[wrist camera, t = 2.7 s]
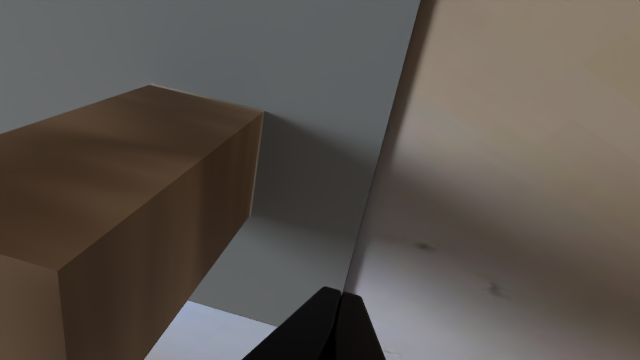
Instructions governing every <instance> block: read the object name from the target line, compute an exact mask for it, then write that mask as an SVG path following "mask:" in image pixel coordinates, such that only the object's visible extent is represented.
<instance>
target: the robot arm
mask: <svg viewBox="0 0 640 360" xmlns="http://www.w3.org/2000/svg"><path fill="white" fill-rule="evenodd" d="M242 360H386V359H385V356H384V354H383V351H382V349H381V346H380V343H379V341H378V338H377V336H376V333H375V331H374V328H373V325H372V323H371V320H370V318H369V315H368V313H367V310H366V307H365V305H364V302H363V300H362V298H361V297H360V296H359V295H355V294H352V293H348V292H343V293H342V295H341V291H340V290H338V289H334V288H331V287H327V286H324V287H322V288H321V289H320V290H318V291H317V292H316V293H315V294H314V295H313V296H312V297H311V298H310V299H308V300H307V301H306V302H305V303H304V304H303V305H302V306H301V307H300V308H298V309H297V310H296V311H295V312H294V313H293V314H292V315H291V316H290V317H289V318H287V319H286V320H285V321H284V322H283V323H282V324H281V325H280V326H279V327H277V328H276V329H275V330H274V331H273V332H272V333H271V334H270V335H269V336H267V337H266V338H265V339H264V340H263V341H262V342H261V343H260V344H259V345H258V346H256V347H255V348H254V349H253V350H252V351H251V352H250V353H249V354H248V355H246V356H245V357H244V358H243V359H242Z"/></svg>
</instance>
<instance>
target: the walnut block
mask: <svg viewBox="0 0 640 360" xmlns="http://www.w3.org/2000/svg"><path fill="white" fill-rule="evenodd" d="M264 112H265V111H264V110H259V109H255V108H251V107H247V106H243V105H239V104H235V103H231V102H226V101H222V100H218V99H214V98H210V97H206V96H202V95H197V94H193V93H189V92H185V91H181V90H177V89H173V88H169V87H164V86H160V85H156V84H150V85H147V86H144V87H141V88H138V89H135V90H132V91H129V92H126V93H123V94H120V95H117V96H114V97H111V98H108V99H105V100H102V101H99V102H96V103H93V104H90V105H87V106H84V107H81V108H78V109H74V110H71V111H68V112H65V113H62V114H59V115H56V116H53V117H50V118H47V119H44V120H41V121H38V122H35V123H32V124H29V125H26V126H23V127H20V128H17V129H14V130H11V131H8V132H5V133H2V134H0V360H144V359H145V357H146V356H147V355H148V353H149V352H150V350H151V349H152V348H153V346H154V345H155V344H156V342H157V341H158V340H159V338H160V337H161V336H162V334H163V333H164V331H165V330H166V329H167V327H168V326H169V325H170V323H171V322H172V321H173V319H174V318H175V317H176V315H177V314H178V312H179V311H180V310H181V308H182V307H183V306H184V304H185V303H186V302H187V300H188V299H189V298H190V296H191V295H192V293H193V292H194V291H195V289H196V288H197V287H198V285H199V284H200V283H201V281H202V280H203V278H204V277H205V276H206V274H207V273H208V272H209V270H210V269H211V268H212V266H213V265H214V264H215V262H216V261H217V259H218V258H219V257H220V255H221V254H222V253H223V251H224V250H225V249H226V247H227V246H228V245H229V243H230V242H231V240H232V239H233V238H234V236H235V235H236V234H237V232H238V231H239V230H240V228H241V227H242V226H243V224H244V223H245V221H246V220H247V219H248V217H249V216H250V215H251V210H252V202H253V195H254V187H255V180H256V172H257V165H258V157H259V150H260V142H261V134H262V127H263V119H264Z"/></svg>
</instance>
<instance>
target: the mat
mask: <svg viewBox="0 0 640 360" xmlns="http://www.w3.org/2000/svg"><path fill="white" fill-rule="evenodd" d="M419 4H420V0H0V134H2V133H5V132H8V131H11V130H14V129H17V128H20V127H23V126H26V125H29V124H32V123H35V122H38V121H41V120H44V119H47V118H50V117H53V116H56V115H59V114H62V113H65V112H68V111H71V110H74V109H78V108H81V107H84V106H87V105H90V104H93V103H96V102H99V101H102V100H105V99H108V98H111V97H114V96H117V95H120V94H123V93H126V92H129V91H132V90H135V89H138V88H141V87H144V86H147V85H150V84H156V85H160V86H164V87H169V88H173V89H177V90H181V91H185V92H189V93H193V94H197V95H202V96H206V97H210V98H214V99H218V100H222V101H226V102H231V103H235V104H239V105H243V106H247V107H251V108H255V109H259V110H264V111H265V112H264V119H263V127H262V134H261V142H260V150H259V157H258V165H257V172H256V180H255V187H254V195H253V202H252V210H251V215H250V216H249V217H248V219H247V220H246V221H245V223H244V224H243V226H242V227H241V228H240V230H239V231H238V232H237V234H236V235H235V236H234V238H233V239H232V240H231V242H230V243H229V245H228V246H227V247H226V249H225V250H224V251H223V253H222V254H221V255H220V257H219V258H218V259H217V261H216V262H215V264H214V265H213V266H212V268H211V269H210V270H209V272H208V273H207V274H206V276H205V277H204V278H203V280H202V281H201V283H200V284H199V285H198V287H197V288H196V289H195V291H194V292H193V293H192V295H191V296H190V298H189V299H188V301H192V302H195V303H199V304H202V305H205V306H209V307H212V308H216V309H219V310H222V311H226V312H229V313H232V314H236V315H239V316H243V317H246V318H249V319H253V320H256V321H260V322H263V323H266V324H270V325H273V326H276V327H279V326H280V325H281V324H282V323H283V322H284V321H285V320H286V319H287V318H289V317H290V316H291V315H292V314H293V313H294V312H295V311H296V310H297V309H298V308H300V307H301V306H302V305H303V304H304V303H305V302H306V301H307V300H308V299H310V298H311V297H312V296H313V295H314V294H315V293H316V292H317V291H318V290H320V289H321V288H322V287H324V286H327V287H331V288H334V289H338V290H340V291H341V295H342V293H343V289H344V285H345V281H346V278H347V274H348V270H349V266H350V263H351V259H352V255H353V251H354V248H355V244H356V240H357V236H358V233H359V229H360V225H361V221H362V218H363V214H364V210H365V206H366V203H367V199H368V195H369V191H370V188H371V184H372V180H373V176H374V173H375V169H376V165H377V161H378V158H379V154H380V150H381V146H382V143H383V139H384V135H385V131H386V128H387V124H388V120H389V116H390V113H391V109H392V105H393V101H394V98H395V94H396V90H397V86H398V83H399V79H400V75H401V71H402V68H403V64H404V60H405V56H406V53H407V49H408V45H409V41H410V38H411V34H412V30H413V26H414V23H415V19H416V15H417V11H418V8H419Z"/></svg>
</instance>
